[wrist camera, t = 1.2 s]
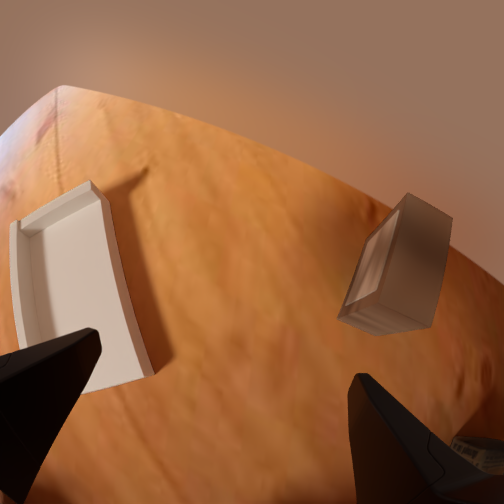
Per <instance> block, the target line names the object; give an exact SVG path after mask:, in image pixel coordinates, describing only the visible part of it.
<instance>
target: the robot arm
mask: <svg viewBox="0 0 504 504" xmlns="http://www.w3.org/2000/svg"><path fill="white" fill-rule="evenodd" d="M101 353H102V345H101V340H100V335H99V332H98V330H96V329H93V328H90V327H87V328H84V329H81V330H78V331H75V332H72V333H69V334H66V335H63V336H60V337H57V338H54V339H51V340H48V341H45V342H42V343H39V344H36V345H33V346H30V347H27V348H24V349H21V350H18V351H15V352H12V353H8V354H5V355H2V356H0V490H1V491H2V492H3V493H4V494H6V495H7V496H8V497H9V498H10V499H12V500H13V501H14V502H15V503H17V504H23V503H24V501H25V499H26V497H27V495H28V492H29V490H30V488H31V486H32V484H33V482H34V480H35V478H36V476H37V474H38V472H39V470H40V468H41V467H40V466H41V465H42V463H43V461H44V459H45V457H46V456H47V454H48V452H49V450H50V448H51V446H52V444H53V442H54V440H55V439H56V437H57V435H58V433H59V431H60V430H61V428H62V426H63V424H64V422H65V421H66V419H67V417H68V415H69V414H70V412H71V410H72V408H73V407H74V405H75V403H76V402H77V400H78V398H79V397H80V395H81V393H82V392H83V390H84V388H85V386H86V385H87V383H88V381H89V379H90V377H91V374H92V372H93V370H94V368H95V366H96V364H97V362H98V360H99V358H100V356H101ZM348 427H349V440H350V447H351V454H352V462H353V470H354V479H355V488H356V498H357V504H504V475H495V474H489V473H486V472H484V471H482V470H481V469H479V468H478V467H476V466H475V465H473V464H472V463H471V462H469V461H468V460H466V459H465V458H464V457H462V456H461V455H459V454H458V453H457V452H455V451H454V450H453V449H451V448H450V447H449V446H448V445H446V444H445V443H444V442H443V441H442V440H440V439H439V438H438V437H437V436H436V435H435V434H434V433H433V432H430V430H429V429H428V428H427V427H426V426H425V425H424V424H423V423H421V422H420V421H419V420H418V419H417V418H416V417H415V416H414V415H413V414H412V413H411V412H409V411H408V410H407V409H406V408H405V407H404V406H403V405H402V404H401V403H400V402H398V401H397V400H396V399H395V398H394V397H393V396H392V395H391V394H390V393H389V392H388V391H387V390H385V389H384V388H383V387H382V386H381V385H380V384H379V383H378V382H377V381H376V380H375V379H373V378H372V377H371V376H370V375H369V374H367V373H357V374H356V375H355V376H354V378H353V381H352V383H351V386H350V388H349V391H348Z"/></svg>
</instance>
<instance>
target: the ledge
mask: <svg viewBox="0 0 504 504" xmlns="http://www.w3.org/2000/svg"><path fill="white" fill-rule="evenodd" d="M10 278H11V291H12V301H13V310H14V318H15V324H16V331H17V336H18V342H19V347H20V350H21V349H24V348H27V347H30V346H33V345H36V344H39V343H42V342H45V341H48V340H51V339H54V338H57V337H60V336H63V335H66V334H69V333H72V332H75V331H78V330H81V329H84V328H87V327H90V328H93V329H96V330H98V332H99V335H100V340H101V345H102V353H101V356H100V358H99V360H98V362H97V364H96V366H95V368H94V370H93V372H92V374H91V377H90V379H89V381H88V383H87V385H86V386H85V388H84V390H83V392H82V393H81V395H82V394H86V393H90V392H94V391H98V390H102V389H106V388H110V387H114V386H117V385H121V384H125V383H128V382H132V381H135V380H139V379H142V378H145V377H149V376H152V375H155V374H154V371H153V368H152V365H151V363H150V360H149V357H148V354H147V351H146V348H145V345H144V342H143V339H142V336H141V333H140V330H139V327H138V323H137V320H136V317H135V313H134V310H133V306H132V303H131V299H130V296H129V292H128V288H127V284H126V280H125V276H124V272H123V268H122V264H121V259H120V255H119V250H118V245H117V241H116V236H115V230H114V225H113V220H112V214H111V208H110V202H109V201H108V199H107V198H106V197H105V196H104V195H103V194H102V193H101V192H100V190H99V189H98V188H97V187H96V186H95V185H94V184H93V182H92V181H91V180H89V181H87V182H85V183H83V184H81V185H79V186H77V187H75V188H73V189H72V190H70V191H68V192H66V193H64V194H63V195H61V196H59V197H57V198H56V199H54V200H52V201H50V202H49V203H47V204H45V205H44V206H42V207H40V208H39V209H37V210H36V211H34V212H32V213H31V214H29V215H28V216H26V217H25V218H23V219H22V220H20V221H18V220H15V221H14V222H13V223H11V224H10Z"/></svg>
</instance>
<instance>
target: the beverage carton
mask: <svg viewBox="0 0 504 504" xmlns="http://www.w3.org/2000/svg"><path fill="white" fill-rule="evenodd" d="M450 448H451V449H453V450H454V451H455V452H457V453H458V454H459V455H461V456H462V457H464V458H465V459H466V460H468V461H469V462H471V463H472V464H473V465H475V466H476V467H478V468H479V469H481V470H482V471H484V472H486V473H489V474H495V475H504V441H501V440H497V439H490V438H479V437H458V436H456V437H454V439H453V442H452V444H451V446H450Z"/></svg>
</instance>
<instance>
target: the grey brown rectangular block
mask: <svg viewBox="0 0 504 504" xmlns="http://www.w3.org/2000/svg"><path fill="white" fill-rule="evenodd" d="M452 219H453V218H452V217H450V216H448V215H447V214H445V213H444V212H442V211H440V210H438V209H437V208H435V207H433V206H432V205H430V204H428V203H426V202H425V201H423V200H421V199H419V198H417V197H415V196H414V195H412V194H410V193H407V194H406V195H405V196H404V197H403V199H402V200H401V201H400V202H399V203H398V204H397V206H396V207H395V208H394V209H393V210H392V211H391V212H390V214H389V215H388V216H387V217H386V218H385V219H384V220H383V221H382V223H381V224H380V225H379V226H378V227H377V228H376V229H375V230H374V231H373V232H372V234H371V235H370V236H369V237H368V238H367V239H366V241H365V244H364V247H363V250H362V253H361V256H360V259H359V262H358V264H357V267H356V270H355V273H354V276H353V278H352V281H351V284H350V286H349V289H348V292H347V294H346V297H345V299H344V302H343V304H342V307H341V309H340V312H339V314H338V317H337V319H338V320H340V321H342V322H344V323H347V324H349V325H351V326H354V327H356V328H358V329H360V330H363V331H365V332H367V333H370V334H372V335H374V336H379V335H387V334H394V333H400V332H406V331H412V330H418V329H424V328H429V327H431V325H432V321H433V318H434V314H435V310H436V307H437V303H438V299H439V294H440V290H441V286H442V281H443V276H444V271H445V266H446V261H447V255H448V249H449V242H450V235H451V227H452Z"/></svg>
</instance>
